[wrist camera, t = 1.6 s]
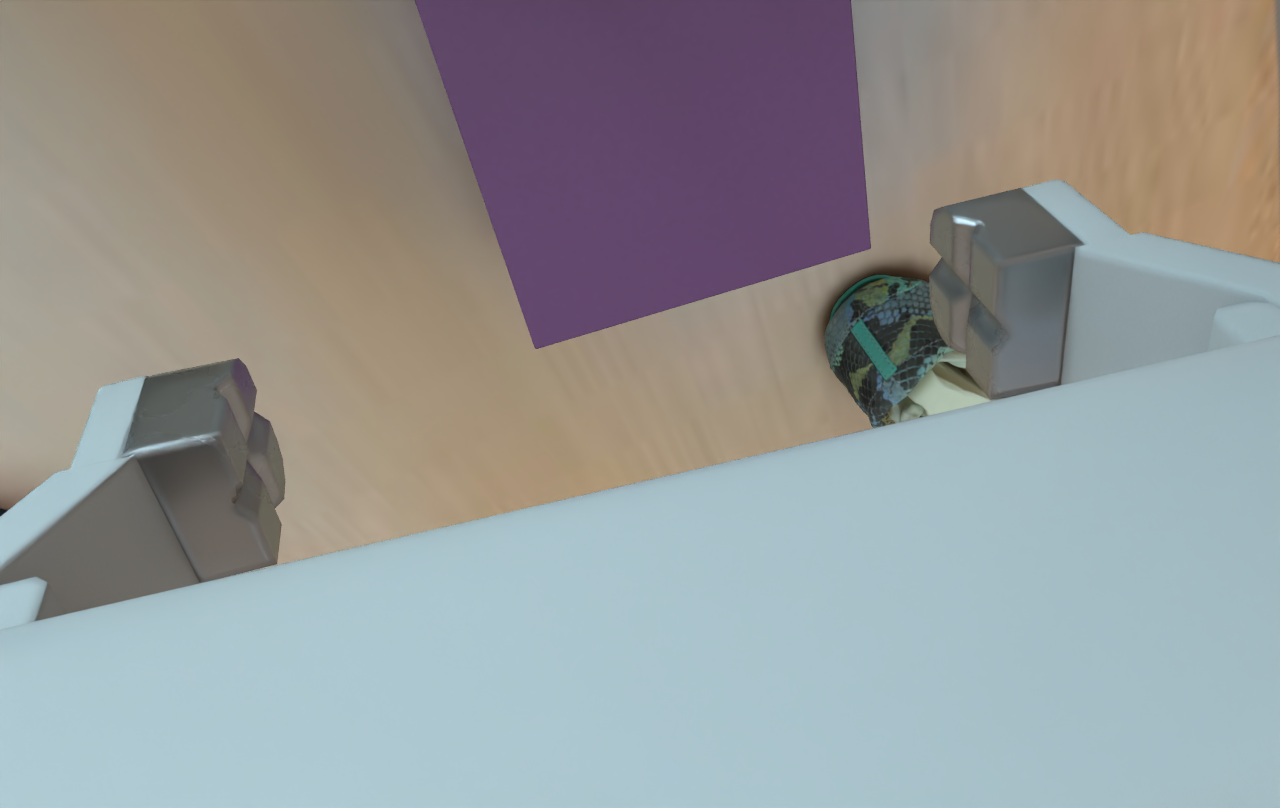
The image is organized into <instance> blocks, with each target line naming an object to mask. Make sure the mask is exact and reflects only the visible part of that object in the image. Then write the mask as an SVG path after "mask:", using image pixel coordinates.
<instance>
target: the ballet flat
mask: <svg viewBox="0 0 1280 808" xmlns="http://www.w3.org/2000/svg"><path fill="white" fill-rule="evenodd" d="M825 348H826V352H827V355H828V360H829V363H830V368H831V369H832V370H833V372H834V373H835V375H836V377H837V378H838V379H839V380H840V381H841V382H842V383H843V385H844V386H845V387H846V388H847V389H848V391H849V393H850V394H851V396H852V397H853V399H854V400H855V402H856V403H857V404H858V405H859V407H860V408H861V409H862V410H863V411H864V412H865V413H866V414H867V415H868V417H869V420H870V422H871V425H872V427H873V428H877V427H882V426H886V425H890V424H895V423H899V422H903V421H908V420H912V419H916V418H921V417H925V416H929V415H934V414H938V413H942V412H947V411H951V410H955V409H960V408H964V407H968V406H973V405H977V404H981V403H986V402H990V401H994V400H999V399H1003V398H1007V397H1003V398H998V399H993V400H990V399H989V398H988V396H987V395H986V394H985V393H984V391H983V390H982V389H981V388H980V386H979V385H978V384H977V383H976V381H975V380H974V379H973V378H972V376H971V375H970V374H969V372H968V371H967V370H966V354H964V353H961V352H958V351H955V350H953V349H950V348H949V347H948V345H947V344H946V343H945V341H944V340H943V339H942V337H941V336H940V334H939V331H938V329H937V327H936V325H935V323H934V318H933V314H932V309H931V305H930V292H929V282H925V281H924V280H919V279H913V278H908V277H893V276H889V275H873V276H870V277H867V278H864V279H863V280H861V281H859V282H857V283H856V284H855V285H853V286H852V287H851V288H849V289H848V290H847V291H846V292H845V293H844V294H843V295H842V296H841V297H840V298H839V300H838V301H837V303H836V304H835V306H834V308H833V310H832V313H831V316H830V322H829V323H828V325H827V327H826V332H825ZM1037 391H1038V390H1037ZM1032 392H1034V391H1032ZM1027 393H1029V392H1027ZM1023 394H1025V393H1023ZM1018 395H1021V394H1018ZM1013 396H1016V395H1013ZM1008 397H1012V396H1008Z"/></svg>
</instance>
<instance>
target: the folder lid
mask: <svg viewBox="0 0 1280 808" xmlns="http://www.w3.org/2000/svg"><path fill="white" fill-rule="evenodd" d="M415 3H416V5H417V8H418V11H419V14H420V17H421V20H422V23H423V26H424V29H425V32H426V34H427V37H428V40H429V43H430V46H431V49H432V52H433V55H434V58H435V60H436V63H437V66H438V69H439V72H440V75H441V78H442V81H443V84H444V87H445V89H446V92H447V95H448V98H449V101H450V104H451V107H452V110H453V113H454V115H455V118H456V121H457V124H458V127H459V130H460V133H461V136H462V139H463V142H464V144H465V147H466V150H467V153H468V156H469V159H470V162H471V165H472V168H473V170H474V173H475V176H476V179H477V182H478V185H479V188H480V191H481V194H482V197H483V199H484V202H485V205H486V208H487V211H488V214H489V217H490V220H491V223H492V225H493V228H494V231H495V234H496V237H497V240H498V243H499V246H500V249H501V252H502V254H503V257H504V260H505V263H506V266H507V269H508V272H509V275H510V278H511V280H512V283H513V286H514V289H515V292H516V295H517V298H518V301H519V304H520V307H521V309H522V312H523V315H524V318H525V321H526V324H527V327H528V330H529V333H530V335H531V338H532V341H533V344H534V347H535V348H536V349H538V348H541V347H545V346H548V345H551V344H555V343H558V342H561V341H565V340H568V339H571V338H575V337H578V336H581V335H585V334H588V333H591V332H595V331H598V330H601V329H605V328H608V327H611V326H615V325H618V324H621V323H625V322H628V321H631V320H635V319H638V318H641V317H645V316H648V315H651V314H655V313H658V312H661V311H665V310H668V309H671V308H675V307H678V306H681V305H685V304H688V303H691V302H695V301H698V300H701V299H705V298H708V297H711V296H715V295H718V294H721V293H725V292H728V291H731V290H735V289H738V288H741V287H745V286H748V285H751V284H755V283H758V282H761V281H765V280H768V279H771V278H775V277H778V276H781V275H785V274H788V273H791V272H795V271H798V270H801V269H805V268H808V267H811V266H815V265H818V264H821V263H825V262H828V261H831V260H835V259H838V258H841V257H845V256H848V255H851V254H855V253H858V252H861V251H865V250H868V249H870V248H871V243H870V231H869V218H868V206H867V194H866V181H865V169H864V157H863V144H862V132H861V120H860V108H859V95H858V83H857V71H856V58H855V46H854V34H853V21H852V9H851V0H415Z"/></svg>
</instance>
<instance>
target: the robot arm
mask: <svg viewBox="0 0 1280 808" xmlns="http://www.w3.org/2000/svg"><path fill="white" fill-rule="evenodd" d="M930 244H931V245H932V246H933V247H934V248H935V250H936V251H937V252H938V253H939V254H940V255H941V257H942V258H941V259H940V261H939V262H938V264H937V265H936V267H935V268H934V270H933V271H932V273H931V274H930V276H929V292H930V305H931V309H932V314H933V318H934V323H935V325H936V327H937V329H938V331H939V334H940V336H941V337H942V339H943V340H944V341H945V343H946V344H947V345H948V347H949V348H950V349H953V350H955V351H958V352H961V353H964V354H966V370H967V371H968V372H969V374H970V375H971V376H972V378H973V379H974V380H975V381H976V383H977V384H978V385H979V386H980V388H981V389H982V390H983V391H984V393H985V394H986V395H987V396H988V398H989V399H990V400H993V399H998V398H1003V397H1007V398H1003V399H999V400H994V401H990V402H986V403H981V404H977V405H973V406H968V407H964V408H960V409H955V410H951V411H947V412H942V413H938V414H934V415H929V416H925V417H921V418H916V419H912V420H908V421H903V422H899V423H895V424H890V425H886V426H882V427H877V428H873V429H869V430H864V431H860V432H856V433H851V434H847V435H843V436H838V437H834V438H830V439H825V440H821V441H817V442H812V443H808V444H804V445H799V446H795V447H791V448H786V449H782V450H777V451H773V452H769V453H764V454H760V455H756V456H751V457H747V458H743V459H738V460H734V461H730V462H725V463H721V464H717V465H712V466H708V467H703V468H699V469H695V470H690V471H686V472H682V473H677V474H673V475H669V476H664V477H660V478H656V479H651V480H647V481H642V482H638V483H634V484H629V485H625V486H621V487H616V488H612V489H608V490H603V491H599V492H595V493H590V494H586V495H582V496H577V497H573V498H568V499H564V500H560V501H555V502H551V503H547V504H542V505H538V506H534V507H529V508H525V509H521V510H516V511H512V512H507V513H503V514H499V515H494V516H490V517H486V518H481V519H477V520H473V521H468V522H464V523H460V524H455V525H451V526H446V527H442V528H438V529H433V530H429V531H425V532H420V533H416V534H412V535H407V536H403V537H399V538H394V539H390V540H386V541H381V542H377V543H372V544H368V545H364V546H359V547H355V548H351V549H346V550H342V551H338V552H333V553H329V554H325V555H320V556H316V557H311V558H307V559H303V560H298V561H294V562H290V563H285V564H281V565H277V566H272V567H268V568H264V569H260V568H263V567H267V566H271V565H275V564H277V561H278V552H279V543H280V533H281V522H280V520H279V517H278V515H277V513H276V510H275V508H276V507H277V506H278V505H279V504H280V503H281V502H282V500H283V499H284V494H285V475H284V467H283V459H282V455H281V452H280V448H279V445H278V441H277V438H276V436H275V433H274V431H273V428H272V426H271V423H270V421H268V420H267V419H265V418H264V417H262V416H260V415H259V414H257V413H256V412H254V407H255V399H256V392H257V389H256V387H255V385H254V383H253V380H252V378H251V376H250V374H249V371H248V369H247V367H246V365H245V364H244V363H243V362H242V361H241V360H240V359H239V358H237V359H232V360H227V361H222V362H217V363H212V364H207V365H202V366H197V367H192V368H187V369H181V370H176V371H171V372H166V373H161V374H156V375H152V376H150V377H149V376H142V377H138V378H134V379H130V380H126V381H122V382H117V383H113V384H109V385H106V386H104V387H101V388H100V389H99V390H98V393H97V395H96V398H95V401H94V404H93V406H92V409H91V412H90V415H89V417H88V420H87V423H86V426H85V428H84V431H83V434H82V437H81V439H80V442H79V445H78V448H77V451H76V453H75V456H74V459H73V462H72V464H71V467H70V469H68V470H64V471H59V472H56V473H55V474H53V475H52V476H51V477H50V478H48V479H47V480H46V481H44V482H43V483H42V484H41V485H39V486H38V487H37V488H36V489H34V490H33V491H32V492H31V493H29V494H28V495H27V496H26V497H24V498H23V499H22V500H21V501H19V502H18V503H17V504H16V505H14V506H13V507H12V508H10V509H9V510H8V511H7V512H5V513H4V514H3V515H2V516H0V808H1280V263H1278V262H1273V261H1269V260H1264V259H1260V258H1255V257H1251V256H1246V255H1242V254H1237V253H1233V252H1229V251H1224V250H1220V249H1215V248H1211V247H1206V246H1202V245H1197V244H1193V243H1188V242H1184V241H1179V240H1175V239H1171V238H1166V237H1162V236H1157V235H1153V234H1148V233H1144V232H1143V233H1138V234H1133V235H1130V234H1129V233H1128V232H1126V231H1125V230H1124V229H1123V228H1121V227H1120V226H1119V225H1118V224H1117V223H1115V222H1114V221H1113V220H1112V219H1110V218H1109V217H1108V216H1107V215H1106V214H1104V213H1103V212H1102V211H1101V210H1099V209H1098V208H1097V207H1096V206H1094V205H1093V204H1092V203H1091V202H1090V201H1088V200H1087V199H1086V198H1085V197H1083V196H1082V195H1081V194H1080V193H1079V192H1077V191H1076V190H1075V189H1074V188H1072V187H1071V186H1070V185H1069V184H1067V183H1066V182H1065V181H1061V180H1051V181H1047V182H1043V183H1039V184H1036V185H1032V186H1028V187H1024V188H1018V189H1014V190H1010V191H1006V192H1002V193H998V194H993V195H989V196H985V197H981V198H977V199H973V200H969V201H964V202H960V203H956V204H952V205H948V206H944V207H941V208H938V209H936V210H934V212H933V216H932V220H931V225H930ZM1037 390H1038V391H1037ZM1032 391H1034V392H1032ZM1027 392H1029V393H1027ZM1023 393H1025V394H1023ZM1018 394H1021V395H1018ZM1013 395H1016V396H1013ZM1008 396H1012V397H1008ZM256 569H259V570H256ZM252 570H255V571H252ZM248 571H251V572H248ZM244 572H246V573H244ZM240 573H242V574H240ZM236 574H238V575H236ZM232 575H233V576H232ZM228 576H229V577H228Z"/></svg>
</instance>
